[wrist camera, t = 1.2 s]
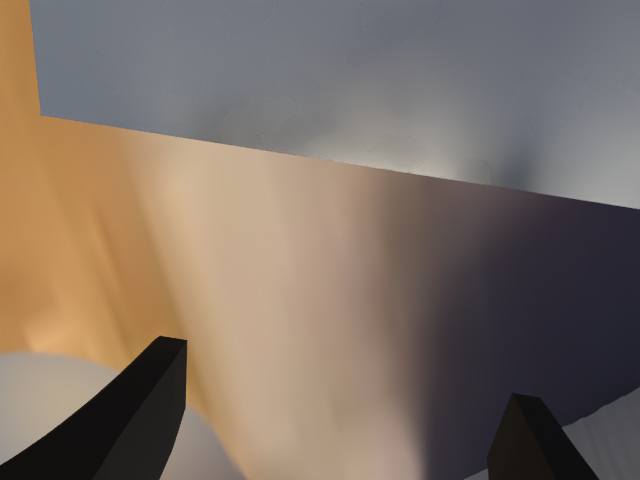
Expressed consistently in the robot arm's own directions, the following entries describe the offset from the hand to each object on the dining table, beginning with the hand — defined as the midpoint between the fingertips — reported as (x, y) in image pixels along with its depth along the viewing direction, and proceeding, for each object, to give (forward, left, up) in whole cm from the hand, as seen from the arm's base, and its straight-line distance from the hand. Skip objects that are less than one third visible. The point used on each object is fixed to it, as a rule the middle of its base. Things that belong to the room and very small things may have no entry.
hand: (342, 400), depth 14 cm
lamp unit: (0, -8, -8) cm, 11 cm away
